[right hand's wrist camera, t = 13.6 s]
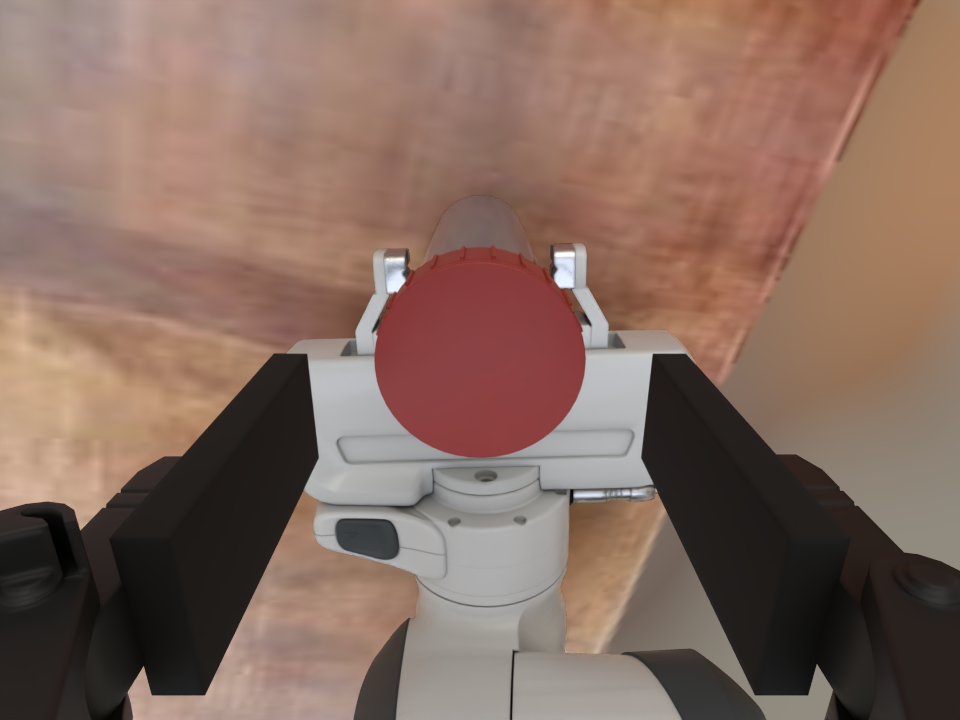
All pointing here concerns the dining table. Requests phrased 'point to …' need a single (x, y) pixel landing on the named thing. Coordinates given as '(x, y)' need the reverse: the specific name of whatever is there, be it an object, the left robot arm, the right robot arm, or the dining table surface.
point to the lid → (480, 353)
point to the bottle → (480, 228)
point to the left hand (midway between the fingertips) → (479, 247)
